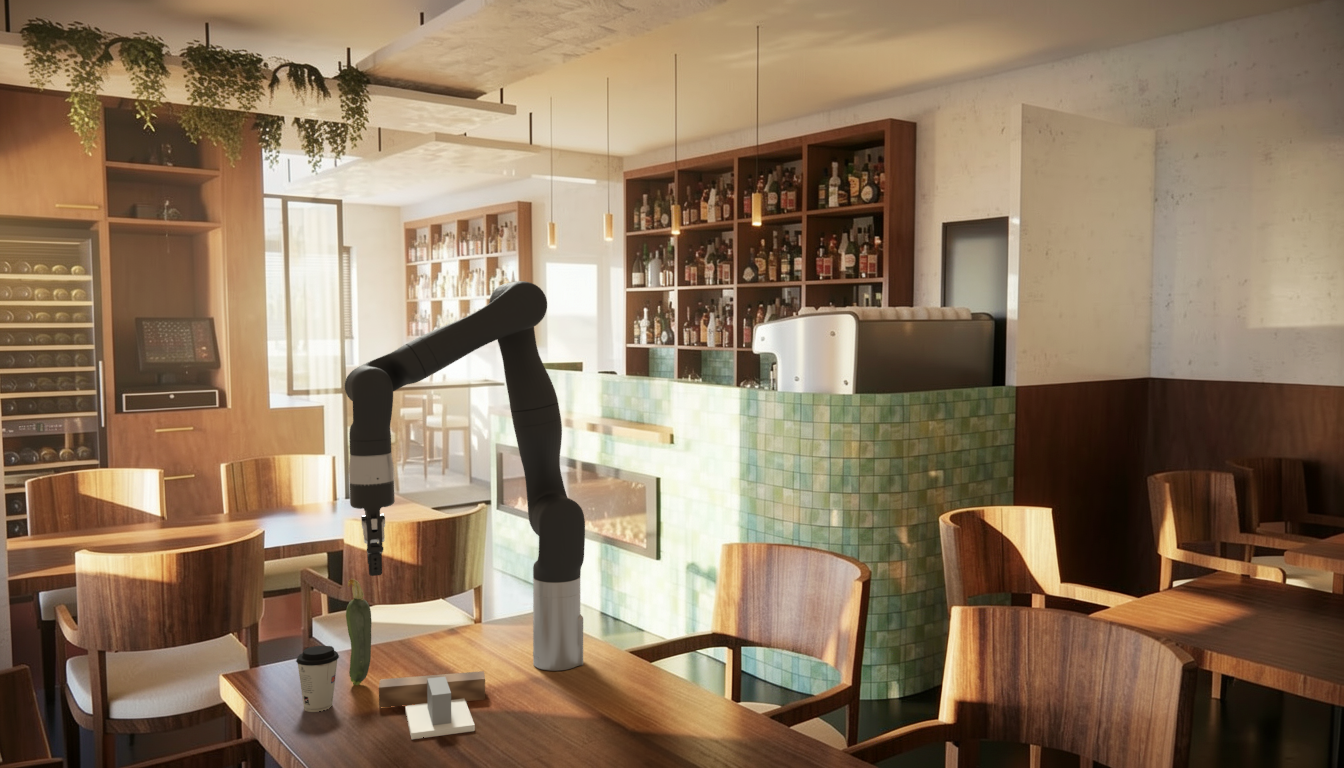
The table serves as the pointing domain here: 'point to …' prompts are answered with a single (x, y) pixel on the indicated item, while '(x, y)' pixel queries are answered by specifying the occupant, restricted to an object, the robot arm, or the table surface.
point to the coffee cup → (317, 677)
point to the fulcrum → (438, 713)
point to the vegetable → (359, 633)
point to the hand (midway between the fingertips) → (374, 569)
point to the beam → (416, 688)
